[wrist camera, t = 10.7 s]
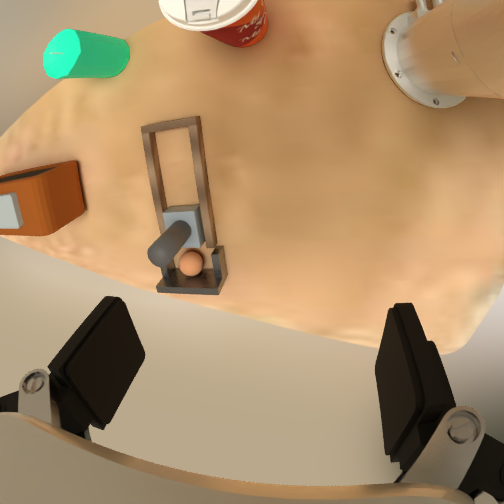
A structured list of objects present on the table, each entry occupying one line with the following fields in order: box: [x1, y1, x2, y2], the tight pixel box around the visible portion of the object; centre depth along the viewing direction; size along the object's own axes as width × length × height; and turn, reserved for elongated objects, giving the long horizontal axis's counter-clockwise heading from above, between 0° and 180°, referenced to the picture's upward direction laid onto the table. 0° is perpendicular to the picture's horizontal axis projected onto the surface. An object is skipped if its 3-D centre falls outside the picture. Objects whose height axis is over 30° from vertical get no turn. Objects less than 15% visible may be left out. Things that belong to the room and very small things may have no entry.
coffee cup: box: [158, 0, 268, 47], centre depth 21 cm, size 8×8×15 cm
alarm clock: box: [0, 161, 85, 236], centre depth 37 cm, size 24×8×11 cm, turn 91°
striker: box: [148, 205, 205, 267], centre depth 36 cm, size 5×4×9 cm
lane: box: [141, 116, 217, 248], centre depth 37 cm, size 17×7×2 cm, turn 5°
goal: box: [156, 246, 228, 295], centre depth 41 cm, size 5×9×5 cm, turn 95°
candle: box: [43, 29, 129, 79], centre depth 25 cm, size 6×6×12 cm
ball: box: [179, 251, 203, 276], centre depth 41 cm, size 3×3×3 cm
